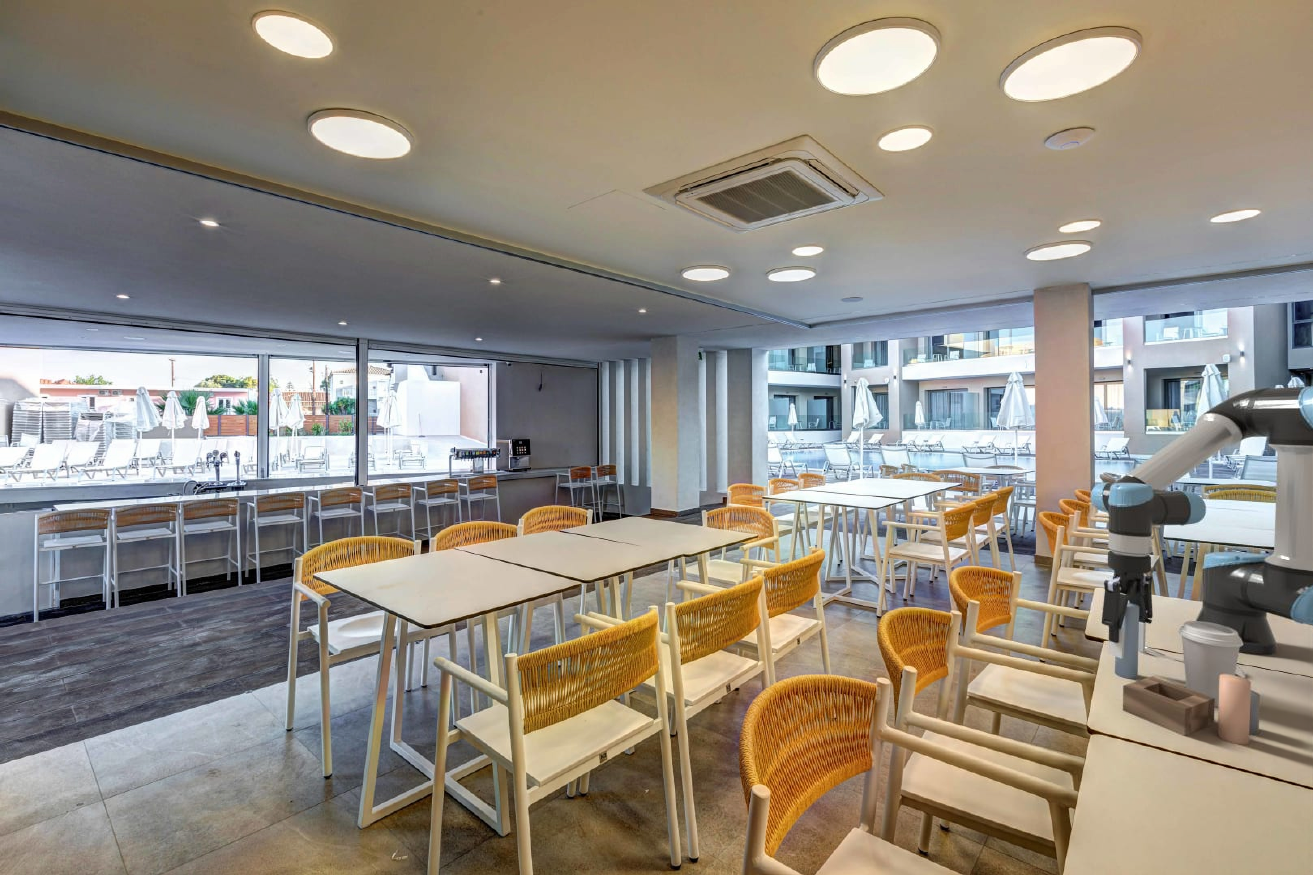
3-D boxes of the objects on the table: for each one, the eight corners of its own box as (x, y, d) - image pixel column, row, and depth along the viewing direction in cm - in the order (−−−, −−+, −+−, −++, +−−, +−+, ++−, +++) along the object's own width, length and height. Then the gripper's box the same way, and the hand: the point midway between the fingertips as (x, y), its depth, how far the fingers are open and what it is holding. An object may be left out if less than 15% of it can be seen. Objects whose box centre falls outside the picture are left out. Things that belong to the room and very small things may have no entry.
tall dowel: (1121, 669, 133) (1123, 601, 132) (1141, 676, 129) (1143, 606, 129) (1110, 672, 132) (1112, 603, 131) (1130, 680, 128) (1132, 609, 127)
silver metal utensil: (1131, 636, 143) (1137, 632, 146) (1130, 650, 143) (1135, 645, 146) (1245, 670, 127) (1249, 664, 130) (1243, 685, 127) (1247, 679, 130)
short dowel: (1234, 720, 111) (1235, 685, 111) (1263, 731, 107) (1264, 694, 107) (1223, 725, 109) (1224, 689, 109) (1251, 736, 106) (1253, 698, 105)
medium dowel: (1224, 730, 108) (1226, 672, 107) (1253, 741, 104) (1255, 681, 103) (1213, 735, 106) (1214, 676, 106) (1241, 746, 102) (1243, 685, 102)
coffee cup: (1254, 713, 114) (1257, 638, 113) (1197, 708, 115) (1200, 635, 115) (1217, 690, 123) (1220, 620, 122) (1166, 686, 125) (1168, 618, 124)
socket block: (1152, 699, 119) (1152, 676, 119) (1214, 723, 110) (1214, 698, 110) (1122, 710, 115) (1123, 685, 115) (1184, 735, 106) (1185, 709, 106)
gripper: (1136, 544, 137) (1134, 639, 138) (1082, 553, 129) (1080, 654, 130) (1175, 551, 130) (1172, 651, 131) (1120, 561, 122) (1118, 667, 123)
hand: (1126, 652), depth 130 cm, fingers open, 7 cm apart
